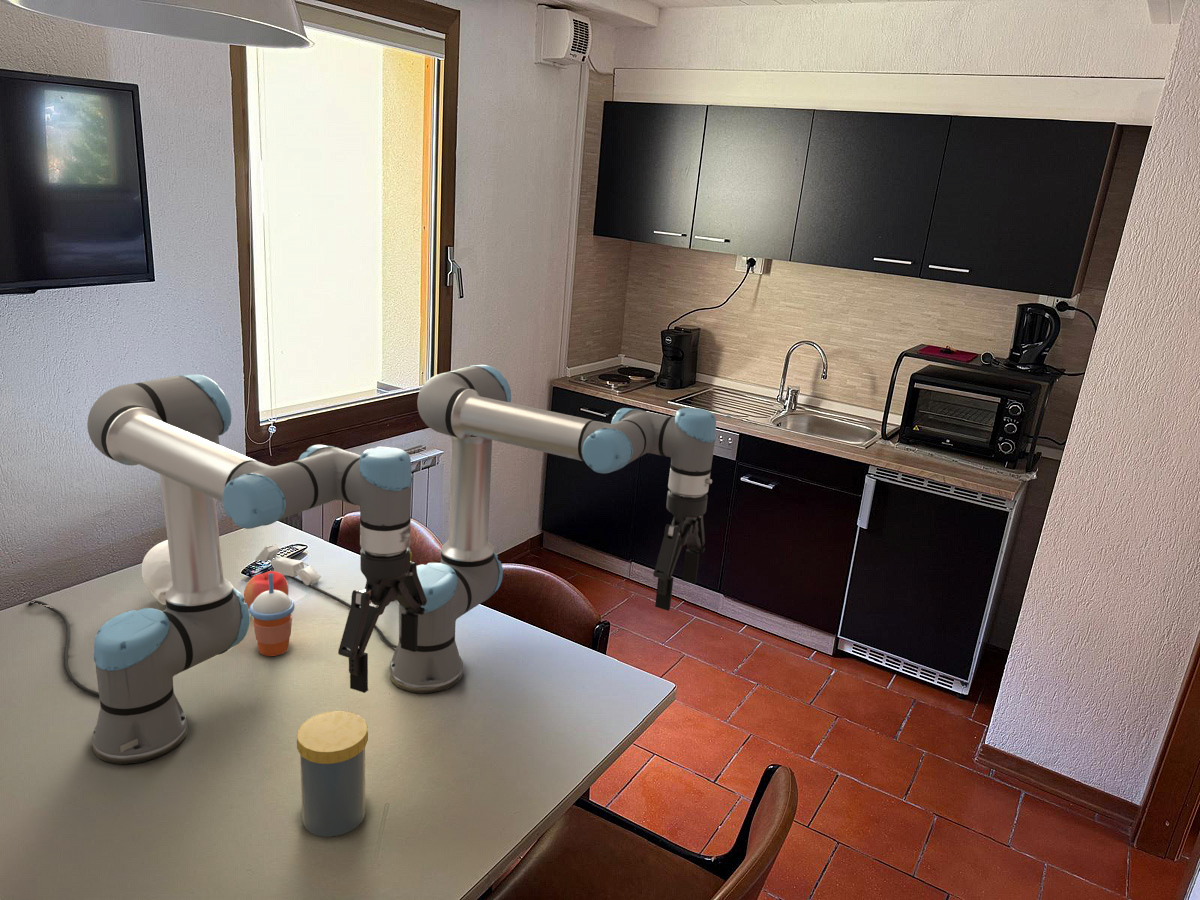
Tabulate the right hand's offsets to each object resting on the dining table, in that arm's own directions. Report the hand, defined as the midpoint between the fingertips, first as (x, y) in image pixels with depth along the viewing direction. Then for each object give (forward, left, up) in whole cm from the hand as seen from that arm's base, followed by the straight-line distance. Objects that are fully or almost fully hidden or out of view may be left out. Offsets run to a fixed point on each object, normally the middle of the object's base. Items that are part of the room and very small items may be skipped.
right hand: (676, 594), depth 165 cm
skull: (-114, -20, -28) cm, 119 cm away
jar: (-35, -55, -28) cm, 71 cm away
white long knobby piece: (-107, +3, -28) cm, 110 cm away
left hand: (-31, -48, -3) cm, 57 cm away
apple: (-95, -14, -28) cm, 100 cm away
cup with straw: (-82, -24, -28) cm, 90 cm away
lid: (-35, -55, -12) cm, 67 cm away
